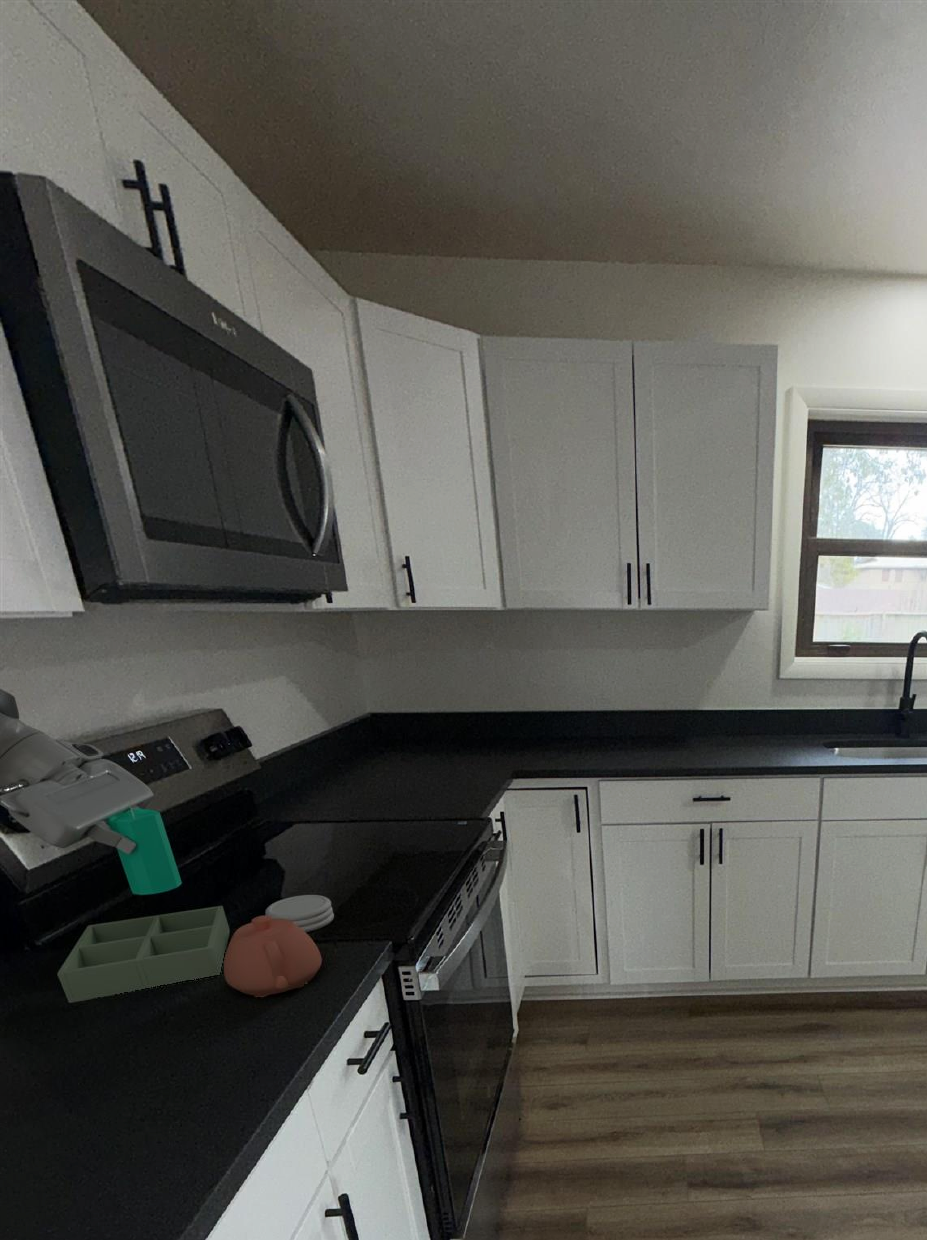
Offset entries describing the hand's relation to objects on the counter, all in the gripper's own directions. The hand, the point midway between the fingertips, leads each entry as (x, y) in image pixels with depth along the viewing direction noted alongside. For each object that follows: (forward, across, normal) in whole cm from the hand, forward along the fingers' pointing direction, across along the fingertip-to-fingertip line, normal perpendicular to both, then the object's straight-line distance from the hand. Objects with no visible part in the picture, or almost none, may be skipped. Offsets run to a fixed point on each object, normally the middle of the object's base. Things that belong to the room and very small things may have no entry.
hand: (147, 842), depth 103 cm
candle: (+4, 0, +5) cm, 7 cm away
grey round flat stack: (+22, +17, +7) cm, 28 cm away
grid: (+10, +4, +19) cm, 22 cm away
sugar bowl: (+25, -6, +4) cm, 26 cm away
